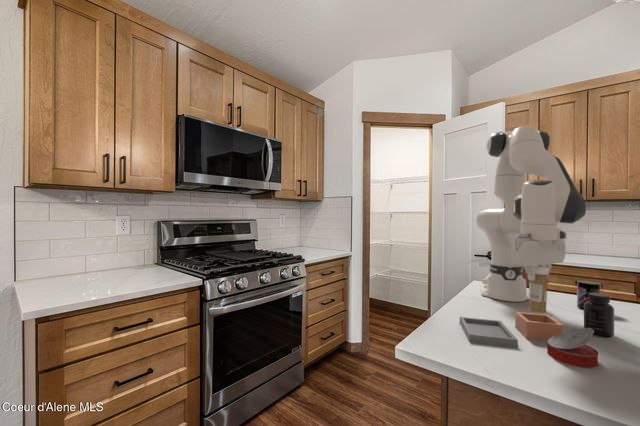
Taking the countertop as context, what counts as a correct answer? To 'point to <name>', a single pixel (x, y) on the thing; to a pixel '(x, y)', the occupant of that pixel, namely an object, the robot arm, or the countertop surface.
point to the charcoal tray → (488, 332)
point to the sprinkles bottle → (538, 290)
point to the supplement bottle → (599, 315)
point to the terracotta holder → (537, 326)
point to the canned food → (573, 348)
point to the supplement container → (586, 291)
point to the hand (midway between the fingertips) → (538, 279)
